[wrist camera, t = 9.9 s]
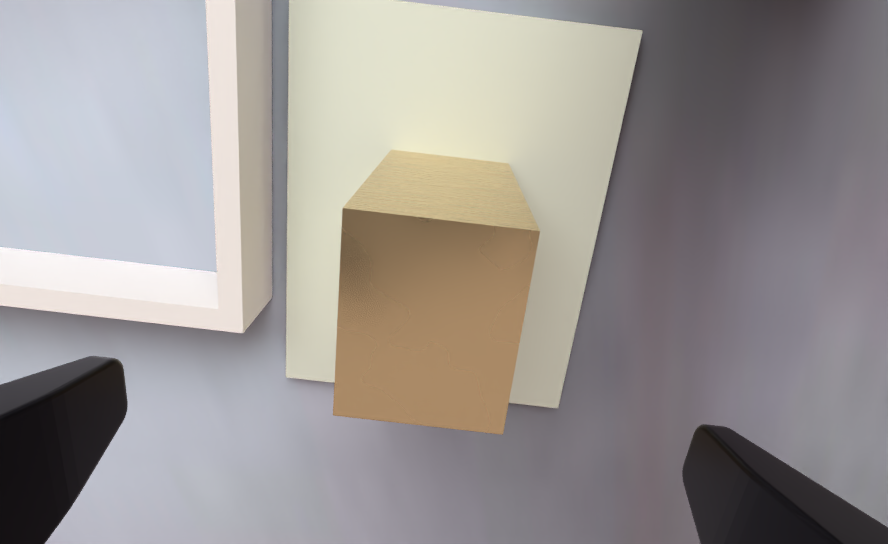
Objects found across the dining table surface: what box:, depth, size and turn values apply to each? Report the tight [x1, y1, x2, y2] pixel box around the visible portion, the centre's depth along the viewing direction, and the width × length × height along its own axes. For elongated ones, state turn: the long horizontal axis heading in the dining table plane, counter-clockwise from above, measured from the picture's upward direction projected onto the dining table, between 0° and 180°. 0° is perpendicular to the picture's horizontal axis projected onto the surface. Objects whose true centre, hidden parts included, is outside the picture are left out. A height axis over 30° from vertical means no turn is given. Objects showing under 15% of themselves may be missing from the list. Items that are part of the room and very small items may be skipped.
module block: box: [333, 149, 540, 434], centre depth 16 cm, size 4×5×8 cm
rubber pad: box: [286, 0, 643, 408], centre depth 19 cm, size 11×14×1 cm
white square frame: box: [0, 0, 272, 333], centre depth 17 cm, size 16×16×3 cm
